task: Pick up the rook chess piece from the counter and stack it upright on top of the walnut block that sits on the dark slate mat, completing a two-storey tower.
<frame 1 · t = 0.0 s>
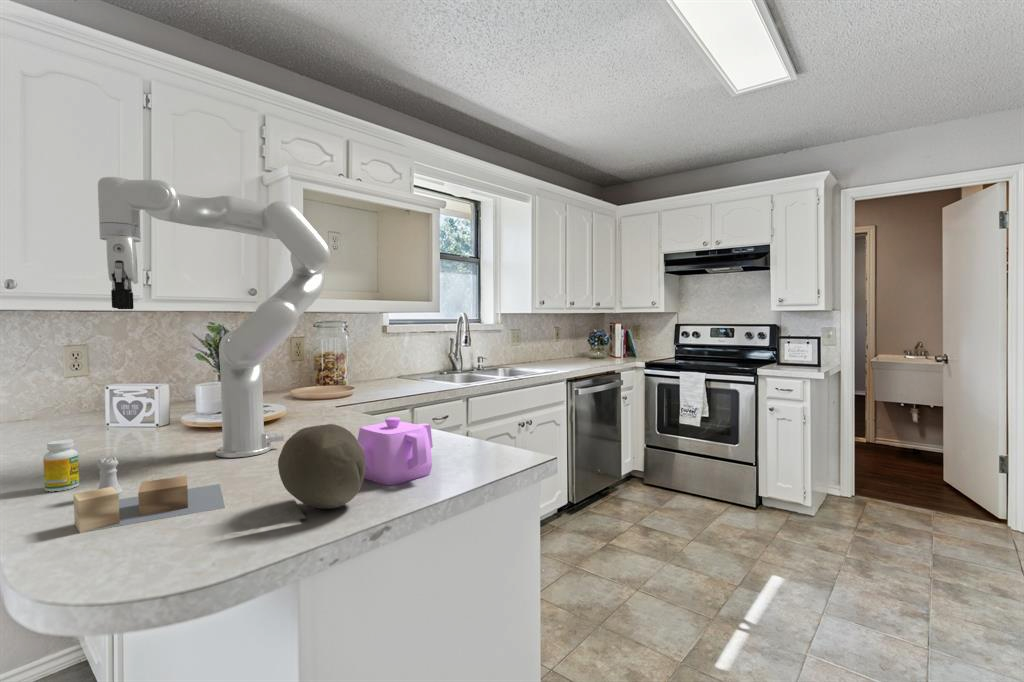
hand: (123, 308, 120), 37 cm above the counter, tool pointing down, fingers open, 9 cm apart
teakettle: (390, 475, 114), on the counter
slate mat: (158, 509, 93), on the counter
walnut block: (164, 505, 93), point 1 cm above the counter, touching slate mat
rook chess piece: (109, 501, 98), on the counter
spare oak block: (97, 524, 84), point 1 cm above the counter, touching slate mat
supplement bottle: (62, 489, 106), on the counter
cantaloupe: (324, 509, 93), on the counter
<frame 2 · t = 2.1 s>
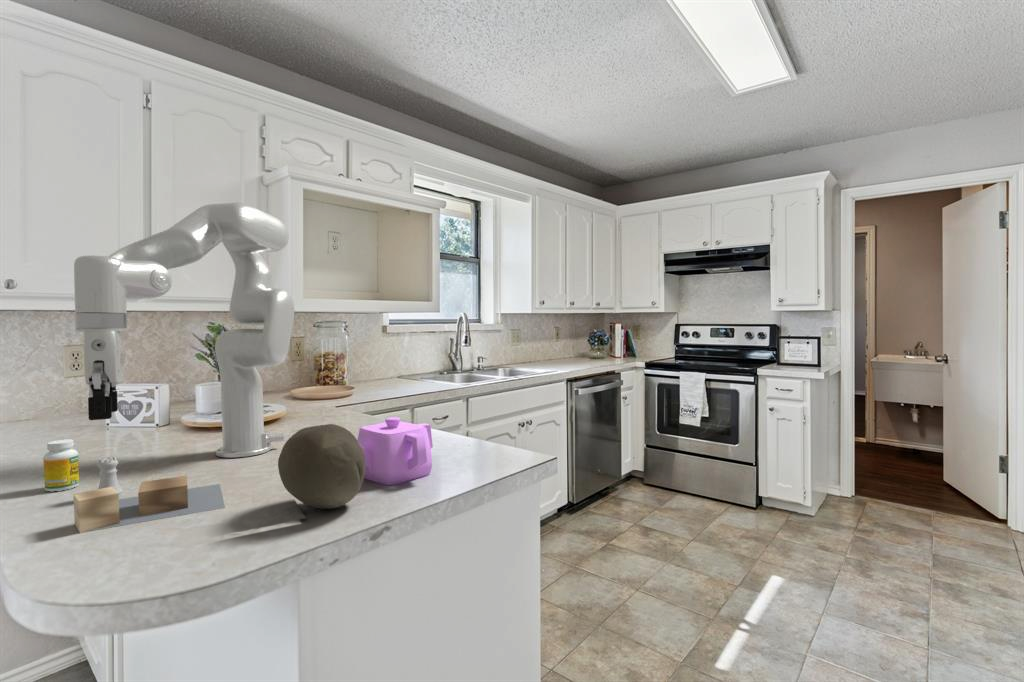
hand: (103, 415, 97), 16 cm above the counter, tool pointing down, fingers open, 9 cm apart
nothing on the counter moved.
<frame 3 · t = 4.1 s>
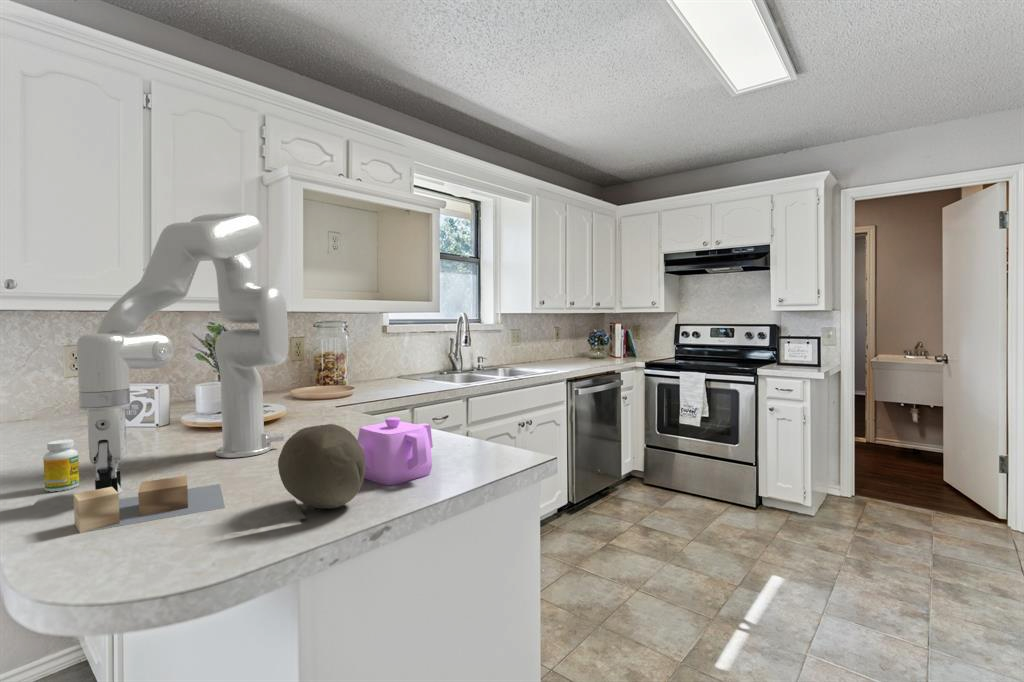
hand: (108, 495, 98), 1 cm above the counter, tool pointing down, fingers closed on rook chess piece, 4 cm apart
rook chess piece: (109, 501, 98), on the counter, touching gripper
everything else where it was.
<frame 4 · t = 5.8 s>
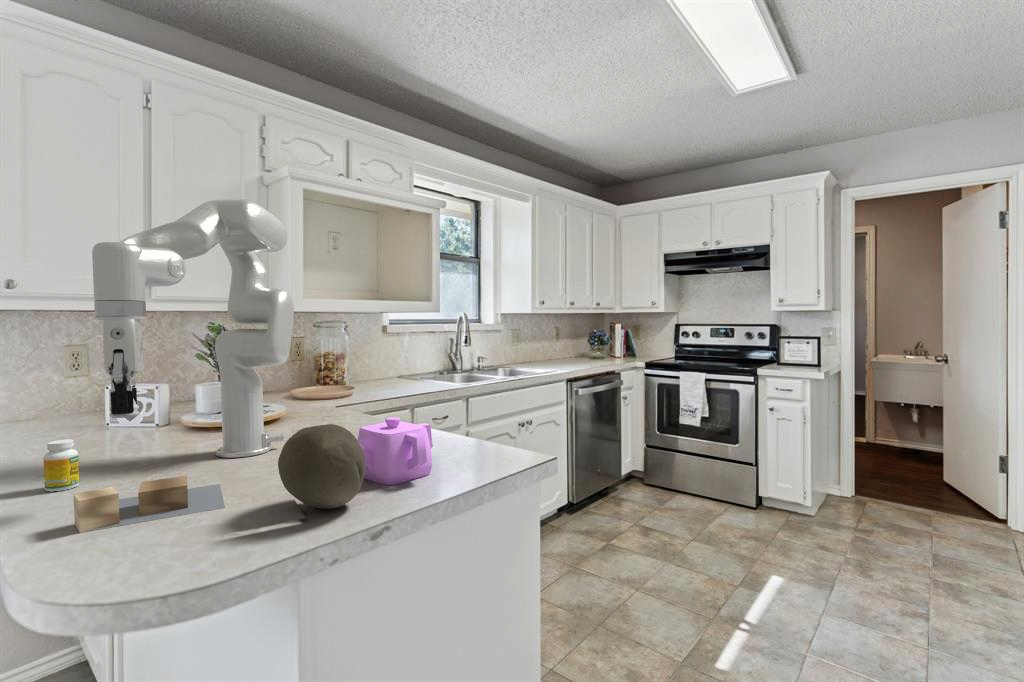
hand: (124, 410, 95), 17 cm above the counter, tool pointing down, fingers closed on rook chess piece, 4 cm apart
rook chess piece: (124, 417, 95), point 16 cm above the counter, touching gripper
everything else where it was.
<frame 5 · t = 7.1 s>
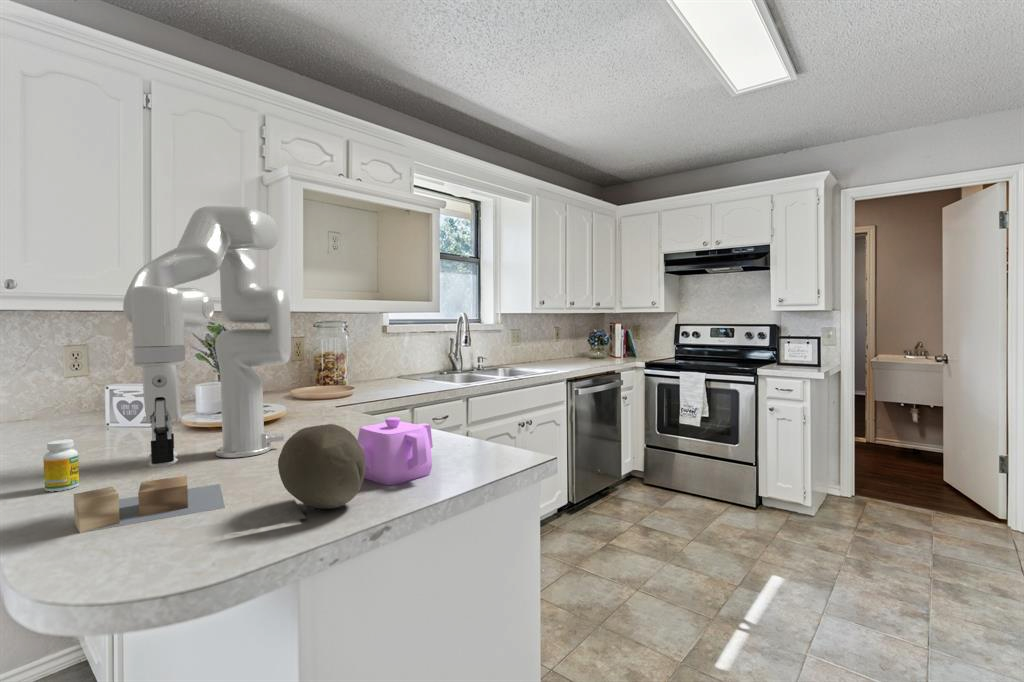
hand: (163, 458, 92), 9 cm above the counter, tool pointing down, fingers closed on rook chess piece, 4 cm apart
rook chess piece: (163, 465, 92), point 8 cm above the counter, touching gripper
everything else where it was.
when the fingers open (7 cm above the counter, at t = 7.9 s): rook chess piece stays where it is, resting on walnut block.
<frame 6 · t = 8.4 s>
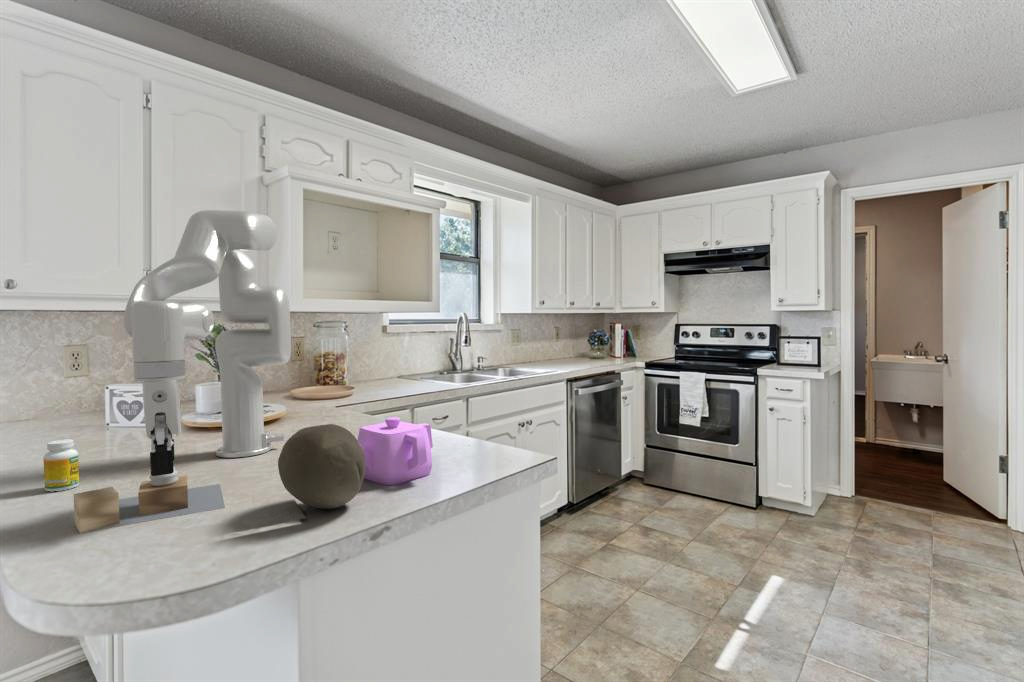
hand: (163, 467, 92), 8 cm above the counter, tool pointing down, fingers open, 9 cm apart
walnut block: (164, 505, 93), point 1 cm above the counter, touching rook chess piece, slate mat
rook chess piece: (164, 484, 93), point 5 cm above the counter, touching walnut block
everything else where it was.
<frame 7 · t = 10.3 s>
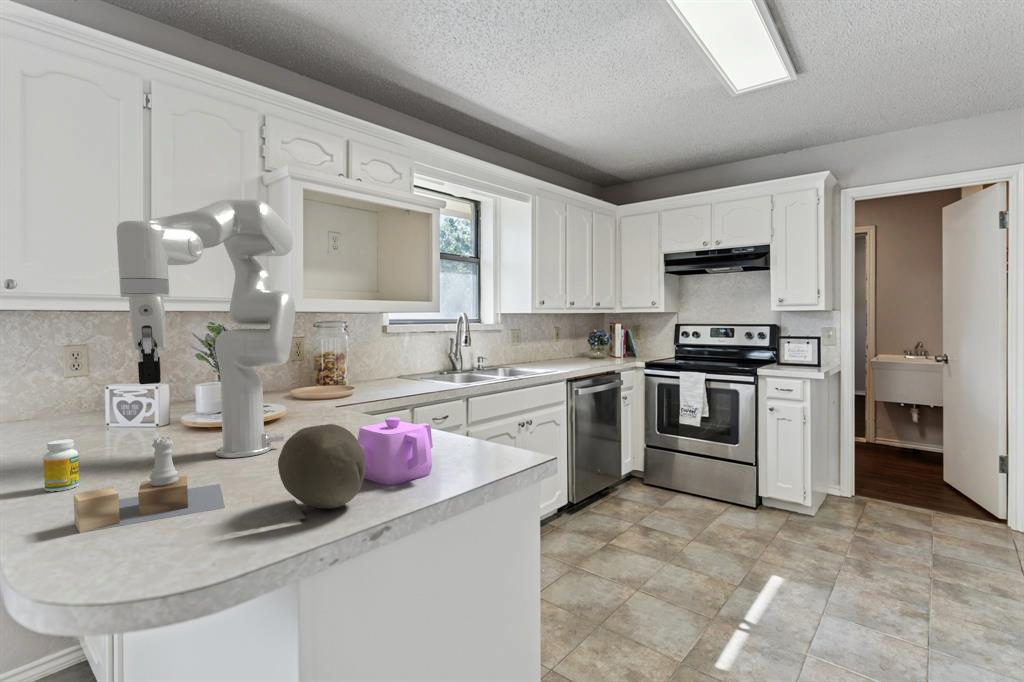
hand: (150, 380, 98), 22 cm above the counter, tool pointing down, fingers open, 9 cm apart
nothing on the counter moved.
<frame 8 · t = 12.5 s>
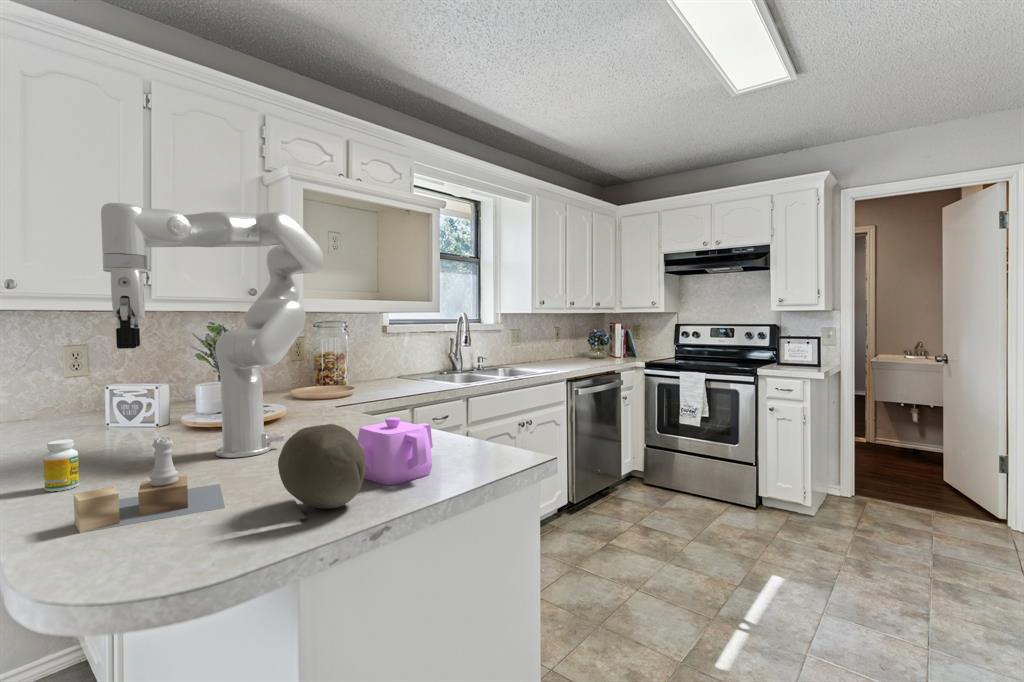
hand: (129, 347, 109), 28 cm above the counter, tool pointing down, fingers open, 9 cm apart
nothing on the counter moved.
at the end: rook chess piece 0.2 cm off-centre on the walnut block, point 3.8 cm above the walnut block's base; rook chess piece tilted 0°; the gripper is holding nothing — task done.
